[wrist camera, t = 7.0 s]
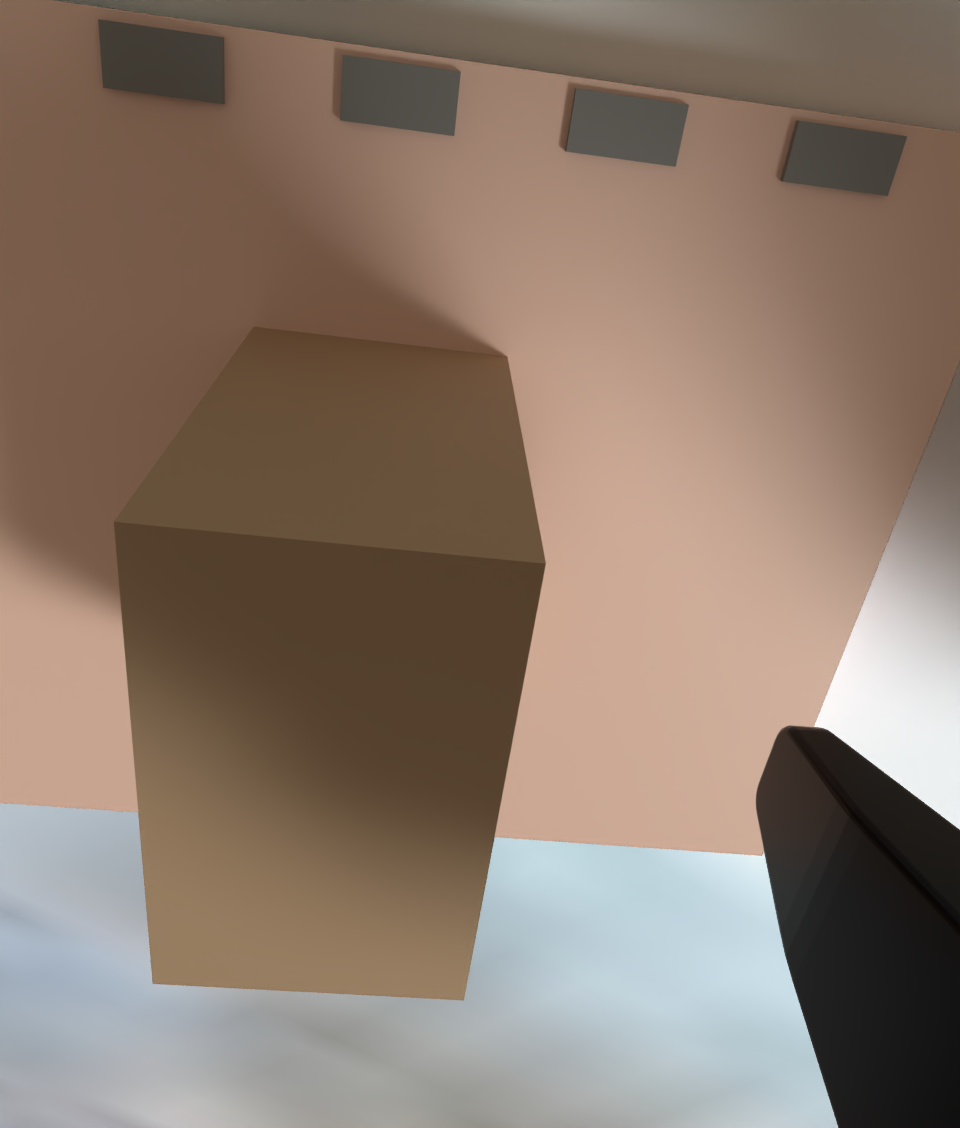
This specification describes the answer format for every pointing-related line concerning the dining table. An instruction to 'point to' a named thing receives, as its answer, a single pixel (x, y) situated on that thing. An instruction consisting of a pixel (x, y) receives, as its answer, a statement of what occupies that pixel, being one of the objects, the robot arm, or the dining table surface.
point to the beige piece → (430, 464)
